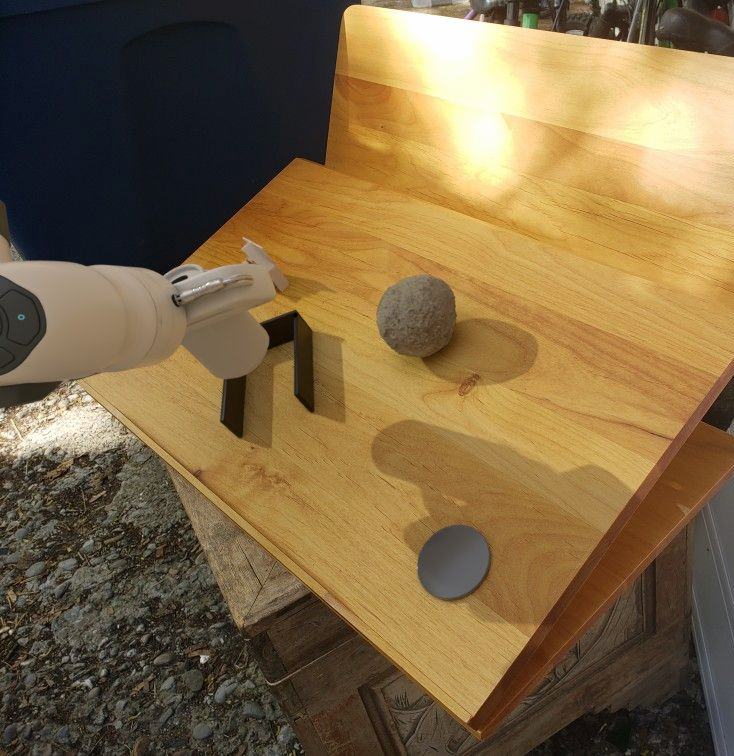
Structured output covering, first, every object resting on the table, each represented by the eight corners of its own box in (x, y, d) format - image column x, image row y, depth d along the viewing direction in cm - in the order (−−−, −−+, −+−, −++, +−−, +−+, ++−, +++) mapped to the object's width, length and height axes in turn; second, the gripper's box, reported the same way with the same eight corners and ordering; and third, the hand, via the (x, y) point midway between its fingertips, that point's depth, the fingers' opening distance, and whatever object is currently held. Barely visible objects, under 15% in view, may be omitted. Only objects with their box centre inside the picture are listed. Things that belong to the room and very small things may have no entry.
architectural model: (274, 299, 102) (245, 263, 96) (250, 284, 106) (221, 249, 100) (290, 283, 103) (263, 248, 97) (266, 269, 107) (239, 234, 101)
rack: (314, 411, 86) (296, 391, 82) (238, 438, 87) (217, 419, 83) (312, 330, 95) (295, 308, 91) (243, 355, 96) (224, 335, 92)
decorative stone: (418, 384, 83) (384, 333, 76) (386, 349, 88) (351, 298, 81) (483, 334, 85) (456, 279, 77) (447, 302, 90) (419, 248, 83)
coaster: (473, 610, 64) (471, 608, 64) (406, 588, 68) (404, 586, 67) (502, 537, 68) (500, 534, 68) (437, 519, 71) (435, 517, 71)
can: (257, 321, 80) (193, 247, 71) (284, 351, 76) (218, 276, 67) (205, 362, 79) (132, 291, 70) (228, 395, 74) (153, 324, 65)
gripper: (222, 240, 57) (284, 252, 71) (12, 323, 60) (112, 319, 73) (249, 311, 58) (307, 309, 72) (41, 390, 60) (135, 373, 74)
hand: (207, 314), depth 72 cm, fingers closed on can, 7 cm apart
